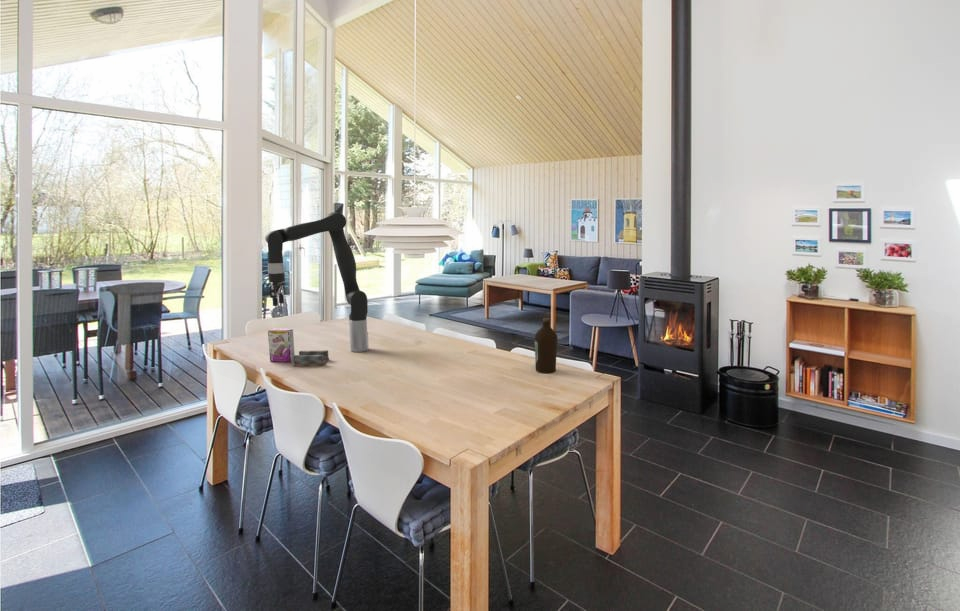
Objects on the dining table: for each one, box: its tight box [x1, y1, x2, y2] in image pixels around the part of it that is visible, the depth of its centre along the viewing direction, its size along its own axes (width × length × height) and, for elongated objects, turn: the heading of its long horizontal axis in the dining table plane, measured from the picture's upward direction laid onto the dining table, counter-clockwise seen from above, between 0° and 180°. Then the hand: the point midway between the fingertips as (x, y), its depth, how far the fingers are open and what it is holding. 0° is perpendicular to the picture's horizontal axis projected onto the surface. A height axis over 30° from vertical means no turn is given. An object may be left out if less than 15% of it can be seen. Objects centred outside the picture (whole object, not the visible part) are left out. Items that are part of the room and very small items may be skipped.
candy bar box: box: [267, 327, 296, 363], centre depth 253 cm, size 11×5×16 cm, turn 84°
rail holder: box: [293, 349, 330, 368], centre depth 249 cm, size 14×12×5 cm
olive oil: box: [534, 317, 559, 374], centre depth 233 cm, size 11×11×25 cm
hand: (278, 304), depth 249 cm, fingers open, 8 cm apart
